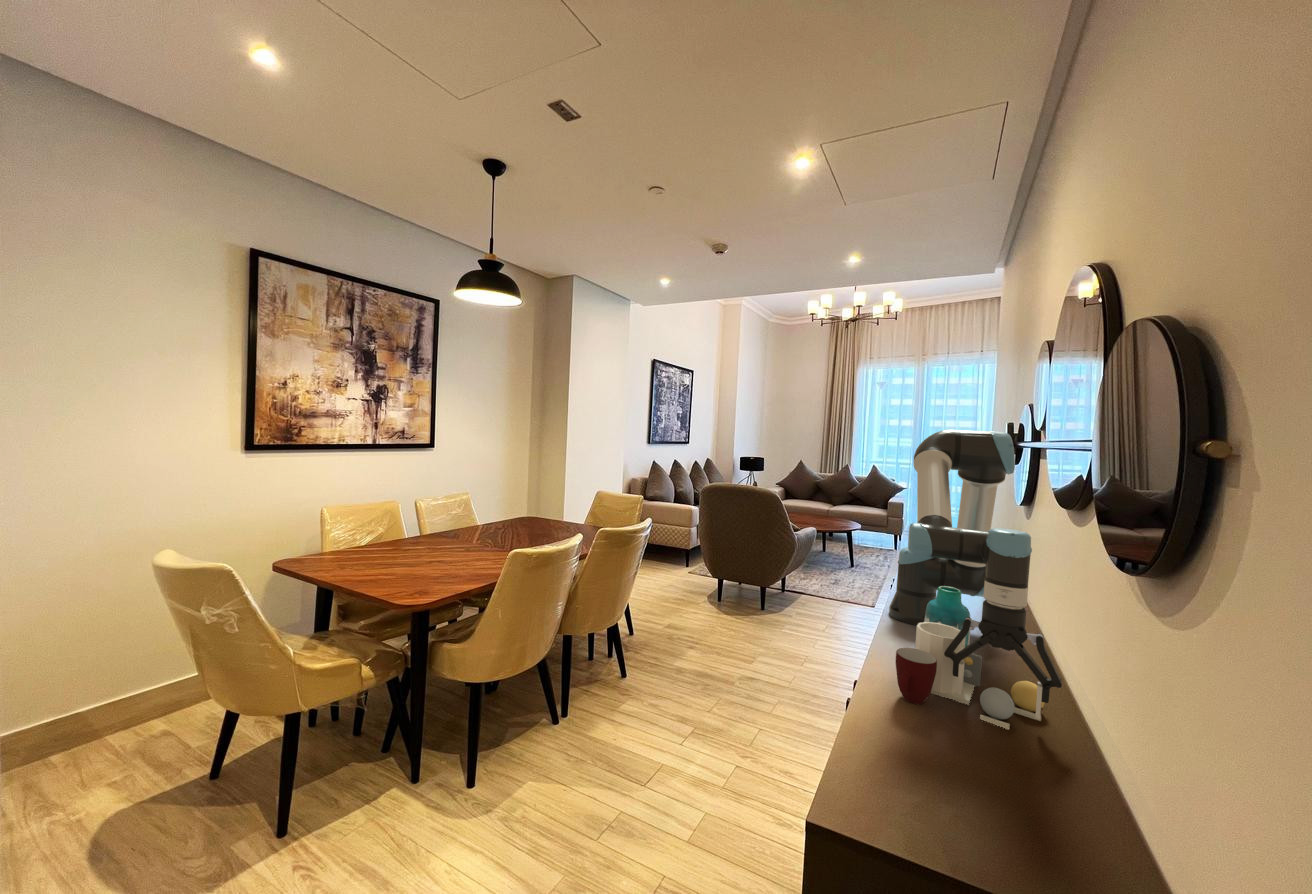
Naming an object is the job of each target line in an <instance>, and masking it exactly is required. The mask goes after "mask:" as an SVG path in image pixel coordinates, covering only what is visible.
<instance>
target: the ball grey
mask: <svg viewBox="0 0 1312 894" xmlns="http://www.w3.org/2000/svg"><path fill="white" fill-rule="evenodd" d="M979 696H980V697H979V703H980V706H981V708H982V710H983V711H984V712H985V713H986V714H987V715H989V717H990V718H993V719H996V720H1000V721H1002V720H1007V719H1009V718H1011V717H1012V716H1013V714H1014V713H1013V712H1014V707H1015V702H1014V700H1013V698H1012V696H1010V694H1009V693H1008V692H1006V691H1005V690H1003V689H1001V688H998V687H988V688H986V689H984V690H983V691H982V692H981V693H980V695H979Z"/></svg>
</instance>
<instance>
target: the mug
mask: <svg viewBox="0 0 1312 894" xmlns="http://www.w3.org/2000/svg"><path fill="white" fill-rule="evenodd" d="M895 670H896V679H897V680H896V681H897V686H898V688H899V689H898V690H899V691H900V693H901V695H902V697H903V699H904V700H905V701H906V702H908V703H911V704H914V705H922V704H924V703H925V701H926V700H927V699H928V698H929V696H930V694H932V693H931V690H932V686H933V683H934V679H935V676H936V670H937V659H936V658H935V657H934V656H933V655H931V654H929V653H927V652H925V651H922V650H918V649H915V648H914V647H913V648H912V647H901V648H897V649H896V652H895Z"/></svg>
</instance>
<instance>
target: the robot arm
mask: <svg viewBox="0 0 1312 894" xmlns="http://www.w3.org/2000/svg"><path fill="white" fill-rule="evenodd" d="M1015 465H1016V456H1015V447H1014V442H1013V439H1012V436H1011V435H1010V434H1009V433H1008V432H1003V431H993V430H969V429H968V430H967V429H966V430H962V429H961V430H960V429H943V430H940V431H937V432H935V433H932V434H931V435H929V436H928V437H926V438H925V439H923V441H922V442H921V443H920V444H919V445H918V447H917V448H916V450H915V452H914V455H913V468H914V471H916V474H917V475H916V476H917V478H916V480H917V486H916V487H917V488H916V489H917V490H916V491H917V493H916V496H917V497H916V500H917V501H916V502H917V504H916V506H917V508H916V509H917V510H916V511H917V512H916V513H917V514H916V516H917V519H916V521H917V522H915V523H914V522H913V523H910V525H909V527H908V543H907V546H906V547H903V548H902V549H900V550H899V553H898V560H897V564H898V565H897V566H898V567H897V575H896V576H897V577H896V578H897V579H896V590H895V593H894V595H893V598H892V600H891V602H890V604H889V608H888V609H889V610H888V614H889V616H890V617H892V618H894V619H895V620H897V621H900V622H903V623H906V624H908V625H909V624H910V625H914V626H917V625H918V623H922V622H924V619H925V611H926V607H927V604H928V603H929V602H930V601H931V600H934V599H936V597H937V591H938V587H940V586H947V587H953V588H956V589H959V590H960V591H961V595H968V596H970V597H980V598H983V599H985V600H983V602H982V611H981V620H980V621H977V620H973V619H972V618H971V616H970V617H966V619H965V621H964V624H963V628H962V629H961V631H960V632H959V633H958V634H957V636H956V637H955V638H954V640H953V641H952V642H951V644H950V645H949V646H948V648H947V649H946V651H945V652H944V655H945V656H946V657H949V658H950V659H952V660H953V676H956V677H958V686H957V694H960V695H961V693H962V691H963V678H964V664H965V661H962V660H963V659H964V658H966V657H967V656H969V655H970V654H972V653H973V654H974V652H976V651H977V650H979V649H980V648H982V647H984V646H985V645H987V644H989V645H990V646H991V647H993V648H997V649H998V648H999V649H1002V650H1005V651H1008V652H1010V651H1015V652H1016V654H1017V655H1018V656H1019V657H1020V658H1021V659H1022V660H1023V662H1024V663H1025V664H1026V665H1027V667H1028V668H1029V669H1030V671H1031V672H1032V673H1033V674H1034V676H1035V677H1036V680H1038V681H1037V686H1038V687H1037V700H1036V711H1035V714H1036V715H1035V718H1036V719H1040V715H1041V711H1042V708H1041V702H1044V703H1045V704H1048V703H1049V701H1050V690H1051V688H1058V689H1060V688H1062V687H1063V683H1062V682H1063V681H1062V679H1061V677H1060V673H1058V671H1057V669H1056V666H1055V664H1054V662H1053V661H1052V658H1051V655H1050V654H1049V653H1048V650H1047V648H1046V646H1045V638H1044V634H1042V633H1041V632H1038V633H1028V632H1027V630H1026V623H1027V622H1026V621H1027V609H1026V607H1027V605H1028V596H1029V595H1028V594H1029V580H1030V579H1029V577H1030V565H1031V554H1032V553H1033V548H1032V537H1031V535H1030V534H1029V533H1028V532H1026V531H1021V530H1017V529H1011V528H1004V527H1003V528H1002V527H1001V528H1000V527H994V528H992V523H993V517H994V511H995V506H996V505H995V503H996V499H997V498H996V497H997V490H998V485H1000V484H1002V483H1004V481H1005V480H1006V475H1011V474H1013V473H1015V469H1016V468H1015ZM950 471H957V476H958V478H960V479H961V480H962V485H961V491H960V492H961V493H960V502H959V507H958V508H959V510H958V515H957V517H958V518H957V523H956V524H957V525H956V527H953V520H952V518H953V517H952V507H951V506H952V504H951V494H950V492H951V491H950V478H949V477H950V475H949V472H950ZM975 628H978V630H979V632H980V633H981V634H982V635H981V636H979V637H978V638H977V639H975V640H974V641H973V642H971V643H969V645H968V646H967V647H965V648H964V649H962V650H961V651H960V652H958V653H957V654H956V653H955V652H954V650H955V649H956V648H957V647H958V645H959V644H960V643H961V641H962V640H963V639H964V637H965V636H966V635H967V633H968V632H969V630H970V631H974V630H975ZM1027 640H1029V641H1030V642H1031V644H1032V646H1035V647H1036V650H1037V653H1038V654H1039V656H1040V659H1041V660H1042V662H1043V664H1044V665H1043V666H1045V668H1046V671H1047V673H1048V675H1049V677H1048V676H1047V674H1046V673H1045V672H1044V671H1043V670H1042V668H1041V666H1040V665H1039V664H1038V663H1037V662H1036V661H1035V659H1034V658H1033V656H1031V654H1030V653H1029V652H1028V650H1027V648H1026V647H1025V646H1024V643H1025V642H1026V641H1027Z"/></svg>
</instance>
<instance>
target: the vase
mask: <svg viewBox="0 0 1312 894" xmlns="http://www.w3.org/2000/svg"><path fill="white" fill-rule="evenodd" d="M966 617H970V618H971V613H970V611H969V608H967V606H966V605H964V604H963V603H962V594H961V591H960V590H959V589H956V588H953V587H947V586H940V587H938V590H937V592H936V599H934V600H931V601H930V602H929V603H928V604H927V607H926V611H925V619H924V622H932V623H940V624H944V625H948V626H951V627H954V628H956V629H959V630H961V629H962V628H963V624H964V621H965V619H966ZM970 640H971V630H969V632H968V633H967V635H966V636H965V647H967V646H968V645H970V642H971V641H970Z"/></svg>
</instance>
